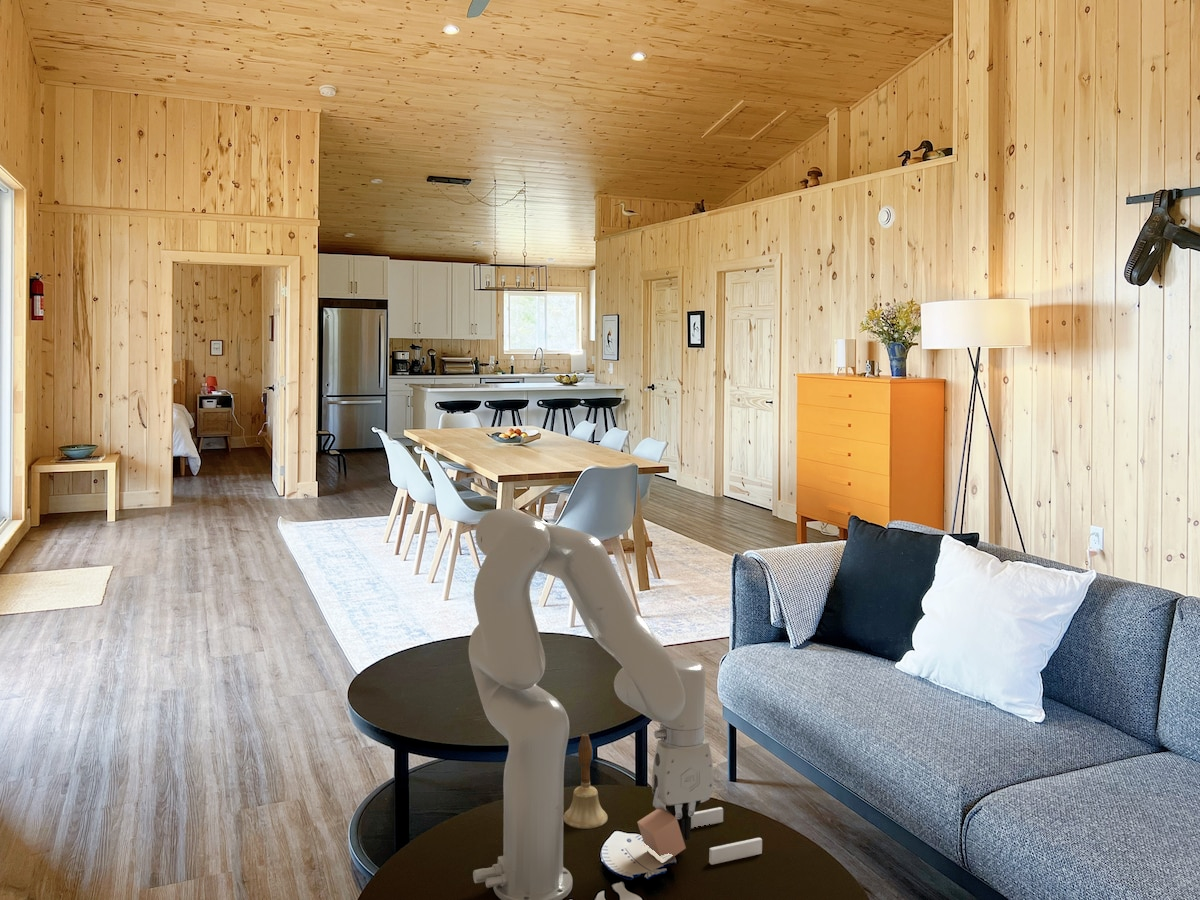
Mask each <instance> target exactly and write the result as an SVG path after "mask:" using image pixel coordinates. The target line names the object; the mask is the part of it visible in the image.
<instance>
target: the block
mask: <svg viewBox="0 0 1200 900" xmlns="http://www.w3.org/2000/svg"><path fill="white" fill-rule="evenodd" d="M637 825H638V826H637V827H638V829H639V831H640V832H639V833H640V835H641V838H642V841H643V844H644V843H645V844H646V845H648V846H649V847H650V848H651V849H652V850H654V851H655V852H656V853H657V854H658V855H659V856H661V855H664V854H668V853H669V854H672V855H673V856H674V857H675V856H677V855H678V854H680V853H682V852H683V851H684V850H686V849H687V847H686V844H685V840H683V837H682V834H681V831H680V827H679V824H678V821H677V818H676V817H674V816H673V815H672V814H671V813H670V812H669V811H668V810H659V809H656V808H655V810H653V811H652V812H650V813H648V814H647V815H645V816H644V817H643V818H641V819H639V820H638V821H637Z"/></svg>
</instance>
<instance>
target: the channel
mask: <svg viewBox="0 0 1200 900" xmlns="http://www.w3.org/2000/svg"><path fill="white" fill-rule="evenodd" d="M721 823H724V808H723V807H722V806H718V807H713V808H709V809H704V810H698V811H695V812H694V815H693V816H692V817H691V829H695V828H694V827H696V828H699V827H698V826H701V827H705V826H704V825H706V826H710V825H715V824H721ZM709 824H710V825H709ZM708 852H709V854H708V863H709V864H710V865H712V866H713V865H717V864H721V863H725V862H730V861H734V860H739V859H743V858H748V857H749V858H750V857H753V856H756V855H761V854H763V853H762V852H763V839H762V838H761V837H754V838H751V839H746V840H740V841H735V842H731V843H726V844H722V845H717V846H713V847H710V848H709V851H708Z"/></svg>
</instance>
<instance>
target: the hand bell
mask: <svg viewBox="0 0 1200 900" xmlns="http://www.w3.org/2000/svg"><path fill="white" fill-rule="evenodd" d="M577 748H578V749H577V751H578V760H579V764H580V768H581V769H580V786H579V785H578V786H577V787H576V788H575V789H573V795H572V800H571V804H570V806H569V808H568V809H567V810H566V811H565V812H564V813H563V823H565V824H566V825H568V826H570V827H572V828H574V829H582V830H583V829H585V830H587V829H588V830H589V829H590V830H591V829H595V828H599V827H601V826H604V825H605V824H606V823H607V822H608V817H609V816H608V814H607V812H606V811H605V810H604V809H603V808H602V806H601V804H600V799H599V793H598V790H597V788H596V787H594V786H592V785H591V776H590V775H591V773H590V770H591V769H590V767H591V763H592V760H593V759H592V757H593V746H592V742H591V740H590V735H589V734H588V733H582V734H581V737H580V741H579V744H578V747H577Z"/></svg>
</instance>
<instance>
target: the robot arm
mask: <svg viewBox="0 0 1200 900" xmlns="http://www.w3.org/2000/svg"><path fill="white" fill-rule="evenodd" d="M474 536H475V542H476V544H477V547H478V548H479V550H480V552H481V553H482V554H483V555H485V556H486V557H485V558H484V560H483V562H482V564H481V565H480V569H478V570H479V571H478V573H477V576H476V578H475V582H474V586H473V601H474V607H475V612H476V616H477V621H478V624H477V625H476V627H475V628H474V629H473V631H472V633H471V635H470V637H469V642H468V659H469V663H470V667H471V671H472V674H473V677H474V682H475V685H476V688H477V692H478V695H479V698H480V702H481V705H482V708H483V711H484V714H485V716H486V718H487V720H488V721H489V723H490V724H491V726H492V727H493V728H494V729H495V730H496V731H497V732H498V733H500V734H501V735H502V736H503V737H504V738H505V739H506V740H507V742H508V752H507V756H506V760H505V764H504V771H503V782H502V783H503V788H502V789H503V791H502V792H503V843H502V844H503V848H502V850H503V853H502V854H503V855H500V856H497V863H494V864H492V866H491V867H486V868H485V867H483V868H478V869H473V871H472V878H473V882H474V884H480V883H484V882H485V887H486V888H487V889H489V888H493V891H494V894H495V895H496V896H497V897H498V898H499V899H500V900H563V899H564V898H566V897H568V895H569V894H570V893H571V891H572V889H573V881H574V880H573V876H572V874H571V872H570V871H569V870H568V869H567V868H566V867H564V820H563V815H564V795H565V792H564V791H565V790H564V788H565V786H564V782H565V781H564V780H565V779H564V778H565V777H564V776H565V773H564V772H565V761H566V754H567V753H566V751H567V747H568V742H569V737H570V720H569V716H568V714H567V711H566V709H565V707H564V706H563V705H562V703H561V702H560V701H559V700H558V699H557V698H556V697H555V696H553V695H552V694H551V693H549V692H548V691H547V690H545V689H544V688H542V687H540V686H538V685H537V684H538V683H539V682H540V680H541V679H542V678H543V676H544V673H545V669H546V655H545V650H544V645H543V642H542V639H541V636H540V633H539V629H538V625H537V623H536V619H535V614H534V610H533V607H532V602H531V593H530V591H531V589H530V588H531V585H532V582H533V581H532V580H533V578H534V576H535V574H536V573H537V572H538V573H542V574H546V575H550V576H553V577H555V578H556V579H560V580H561V582H562V583H563V584H564V586H565V588H566V590H567V592H568V594H569V596H570V598H571V600H572V602H573V604H574V606H575V609H576V610H577V612H578V614H579V616H580V619H581V620H582V622H583V624H584V626H585V629H586V630H587V632H588V633H589V634H590V636H591V637H592V639H594V640H595V641H596V642H597V644H598V645H599V646H600V647H601V648H603V650H605V651H606V652H607V653H608V654H610V655H611V656H612V657H613V658H614V659H615V660H616V661H617V662H618V664H620V666H621V667H622V668H620V669H619V671H618V672H617V673H616V675H615V677H614V681H613V687H614V691H615V694H616V696H617V697H618V699H619V701H621V702H622V703H623V704H625V705H627V706H628V707H630V708H632V709H633V710H635V711H636V712H639V713H640V714H642V715H643V716H645V717H647V718H649V720H652V721H654V722H656V723H660V724H659V729H657V730H654V733H653V734H654V738H655V739H659V740H657V743H656V747H655V752H654V757H653V764H652V777H651V791H652V795H653V801H652V806H653V807H654V808H655V810H656V809H659V810H666V811H667V812H669V813H670V814H671V815H673V816H674V817H676V818H677V821H678V824H679V827H680V831H681V834H682V837H683V840H684V841H688V840H690V835H691V834H690V833H691V831H692V828H691V817H692V816H693V815H694V812H696V810H697V808H698V807H699V806H700V804H702V803H704V802H707V801H709V800H710V799H711V797H712V796H713V794H714V789H715V788H714V787H715V784H714V782H715V781H714V767H713V757H712V751H711V746H710V742H709V740H708V738H705V729H706V728H705V722H706V720H705V719H706V718H705V717H706V715H705V714H706V670H705V667H704V666H703V665H702V663H700V662H698V661H696V660H691V659H683V658H681V659H673V660H672V658H671V656H670V655H669V652H668V651H667V650H666V648H665V646H664V645H663V644H662V643H661V641H660V640H659V638H657V636H656V635H655V634H654V632H653V631H652V630H651V627H649V626H648V624H647V622H646V621H645V619H643V617H642V616H641V614H639V612H638V610H636V608H635V606H634V604H633V602H632V600H631V599H630V597H629V594H628V592H627V590H626V588H625V587H624V584H623V583H622V580H621V578H620V576H619V573H618V572H617V569H616V567H615V566H614V564H613V561H612V560H611V557H610V555H609V553H608V552H607V549H606V548H605V546H604V545H603V543H602V542H601V541H600V540H599V538H597V537H596V536H594V535H592V534H590V533H587V532H583V531H580V530H576V529H574V528H570V527H566V526H562V525H557V524H555V523H554V524H553V523H550V522H546V521H544V520H541V519H538V517H537V518H536V517H534V516H532V515H530V514H527V513H522V512H519V511H516V510H512V509H508V508H496V509H495V508H494V509H493V510H490V511H488V512H486V513H485V514H484V515H483V516H482V517H481V518H480V519H479V521H478V523H477V526H476V528H475V535H474Z"/></svg>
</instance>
